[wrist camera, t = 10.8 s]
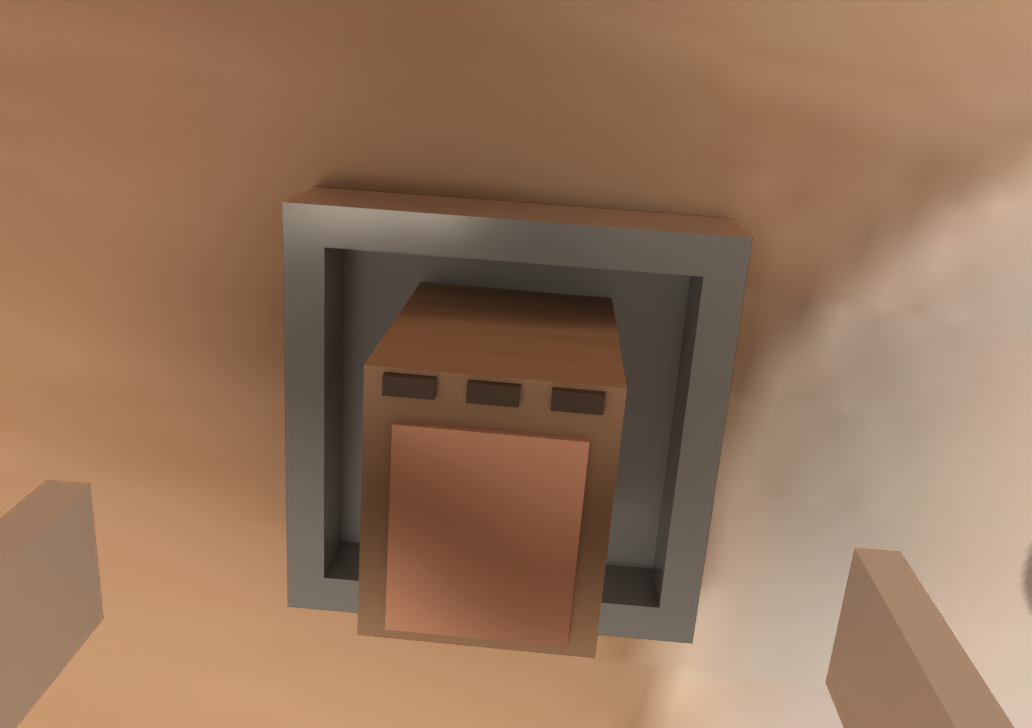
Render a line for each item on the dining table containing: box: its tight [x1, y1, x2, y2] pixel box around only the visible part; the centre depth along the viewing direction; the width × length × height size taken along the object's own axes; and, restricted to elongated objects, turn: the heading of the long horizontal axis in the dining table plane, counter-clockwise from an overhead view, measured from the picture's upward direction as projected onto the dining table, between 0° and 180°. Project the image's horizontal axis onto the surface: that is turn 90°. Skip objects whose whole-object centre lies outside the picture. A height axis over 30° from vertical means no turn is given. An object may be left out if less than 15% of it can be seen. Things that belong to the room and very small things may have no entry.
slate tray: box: [282, 187, 752, 643], centre depth 25 cm, size 11×11×3 cm
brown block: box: [358, 282, 627, 658], centre depth 22 cm, size 6×5×7 cm
